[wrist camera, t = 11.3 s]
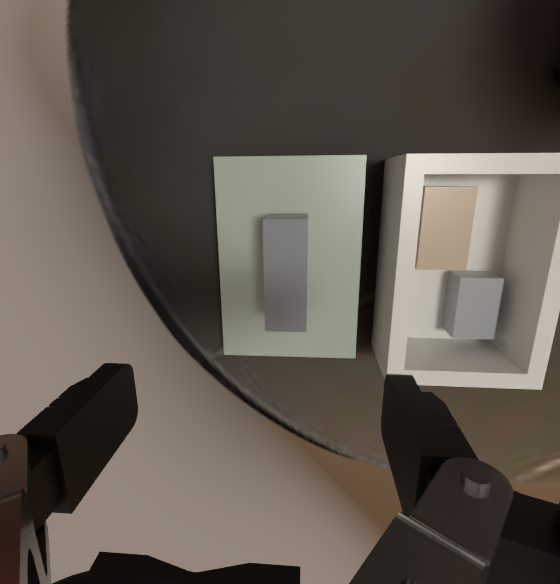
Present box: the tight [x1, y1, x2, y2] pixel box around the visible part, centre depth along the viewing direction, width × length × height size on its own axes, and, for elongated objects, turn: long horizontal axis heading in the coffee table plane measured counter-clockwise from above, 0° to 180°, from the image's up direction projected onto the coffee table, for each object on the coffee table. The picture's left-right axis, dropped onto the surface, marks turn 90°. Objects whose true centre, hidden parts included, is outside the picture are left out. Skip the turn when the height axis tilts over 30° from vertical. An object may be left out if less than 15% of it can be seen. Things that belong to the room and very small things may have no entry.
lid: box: [213, 155, 367, 358], centre depth 29 cm, size 16×11×7 cm
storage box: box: [371, 153, 560, 390], centre depth 28 cm, size 16×11×7 cm
